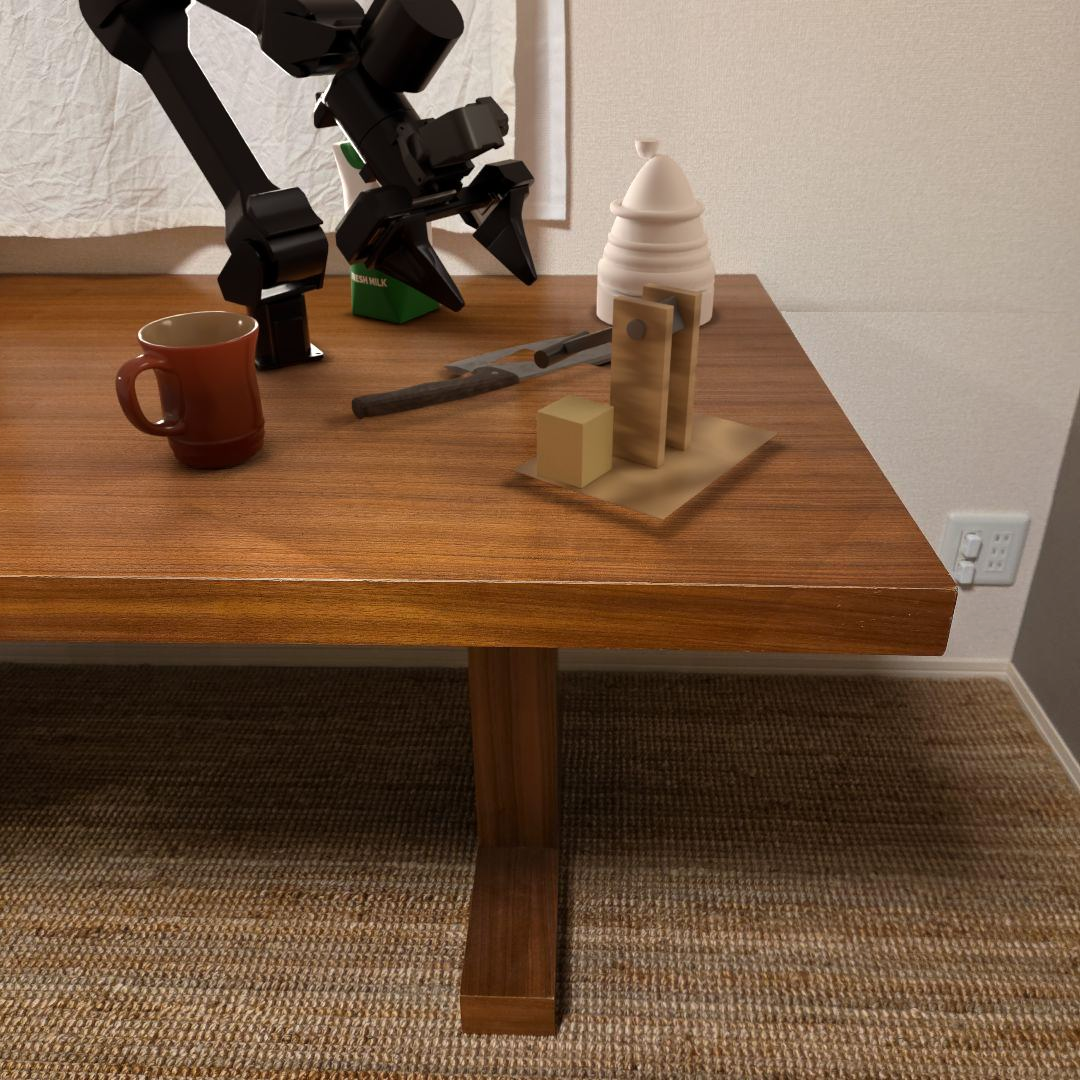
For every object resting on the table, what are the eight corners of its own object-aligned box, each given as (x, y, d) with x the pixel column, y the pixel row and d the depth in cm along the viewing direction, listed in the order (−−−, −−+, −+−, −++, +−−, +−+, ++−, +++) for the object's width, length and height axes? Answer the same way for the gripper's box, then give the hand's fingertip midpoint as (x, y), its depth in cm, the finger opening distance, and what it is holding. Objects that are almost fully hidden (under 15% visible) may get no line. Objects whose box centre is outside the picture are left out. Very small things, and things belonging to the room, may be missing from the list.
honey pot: (572, 315, 112) (574, 143, 103) (640, 290, 120) (647, 129, 111) (668, 339, 105) (680, 156, 96) (733, 311, 113) (749, 140, 104)
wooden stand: (511, 484, 75) (507, 309, 69) (638, 410, 88) (646, 256, 81) (661, 534, 69) (673, 346, 62) (776, 446, 81) (796, 282, 75)
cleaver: (382, 437, 82) (380, 413, 81) (320, 404, 89) (318, 381, 88) (633, 360, 100) (634, 340, 98) (565, 337, 106) (566, 317, 105)
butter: (536, 474, 74) (536, 410, 72) (567, 455, 77) (568, 394, 74) (581, 488, 72) (582, 424, 69) (611, 469, 75) (614, 406, 72)
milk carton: (340, 315, 112) (320, 122, 102) (392, 295, 119) (378, 112, 109) (401, 328, 108) (387, 128, 98) (452, 307, 115) (443, 118, 105)
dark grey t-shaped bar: (539, 376, 77) (528, 346, 77) (583, 355, 82) (574, 327, 81) (656, 342, 70) (645, 308, 69) (698, 321, 74) (688, 289, 73)
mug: (223, 424, 85) (203, 304, 80) (300, 446, 81) (283, 322, 76) (103, 477, 77) (72, 347, 72) (182, 505, 73) (155, 369, 67)
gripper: (347, 69, 68) (476, 258, 68) (515, 53, 81) (625, 211, 81) (283, 177, 76) (399, 347, 76) (446, 147, 89) (545, 291, 89)
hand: (498, 295), depth 81 cm, fingers open, 9 cm apart
